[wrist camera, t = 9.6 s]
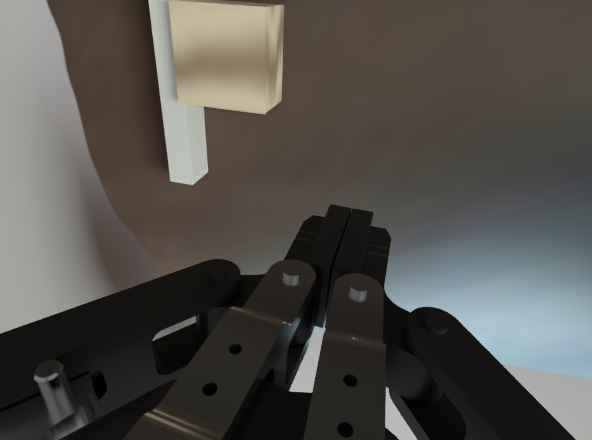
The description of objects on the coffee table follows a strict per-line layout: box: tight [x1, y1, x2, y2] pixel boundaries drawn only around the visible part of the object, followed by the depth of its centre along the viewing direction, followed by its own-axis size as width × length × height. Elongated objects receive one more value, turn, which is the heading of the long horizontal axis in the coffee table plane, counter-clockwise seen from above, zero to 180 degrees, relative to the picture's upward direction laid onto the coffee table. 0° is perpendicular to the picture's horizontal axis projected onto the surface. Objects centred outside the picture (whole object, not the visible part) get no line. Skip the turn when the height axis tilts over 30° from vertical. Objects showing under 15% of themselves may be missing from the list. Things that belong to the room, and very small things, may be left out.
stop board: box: [148, 0, 208, 185], centre depth 38 cm, size 20×2×4 cm, turn 177°
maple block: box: [168, 0, 284, 114], centre depth 35 cm, size 8×8×5 cm
